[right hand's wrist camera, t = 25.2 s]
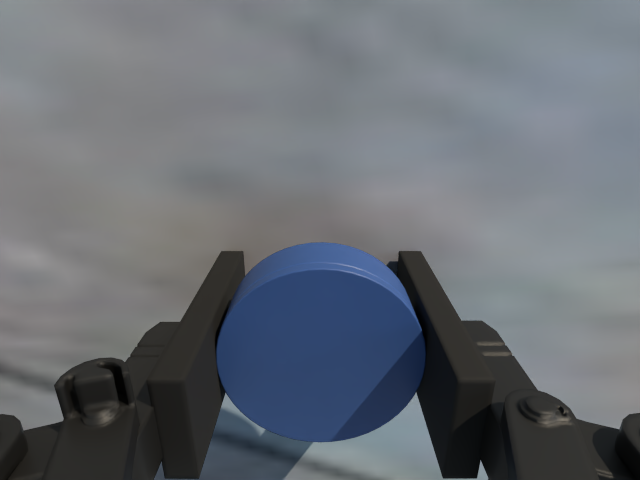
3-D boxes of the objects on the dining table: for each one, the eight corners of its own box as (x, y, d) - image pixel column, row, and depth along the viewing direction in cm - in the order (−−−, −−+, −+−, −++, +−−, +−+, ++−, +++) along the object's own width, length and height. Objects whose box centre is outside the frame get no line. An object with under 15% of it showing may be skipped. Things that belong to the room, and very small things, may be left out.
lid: (273, 417, 14) (267, 463, 12) (196, 279, 12) (177, 312, 10) (433, 368, 13) (450, 410, 11) (378, 213, 11) (389, 236, 9)
